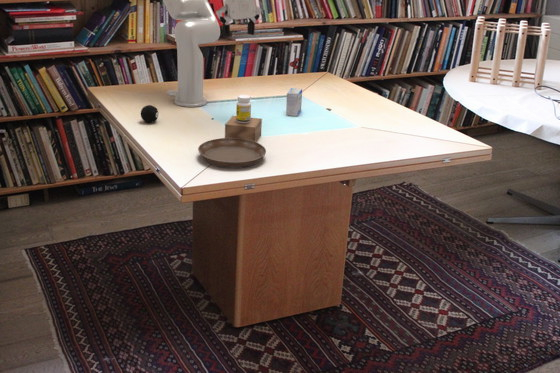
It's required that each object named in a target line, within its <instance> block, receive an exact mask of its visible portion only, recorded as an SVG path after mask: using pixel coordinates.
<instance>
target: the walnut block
mask: <svg viewBox="0 0 560 373" xmlns="http://www.w3.org/2000/svg"><path fill="white" fill-rule="evenodd" d="M262 124H263V118H258V117H251V121H250V122H249V123H239V122H237V121H236V115H232V116H231V117H230V118H229V119H228V120H227V121H226V123H225V124H224V138H238V139H246V140H250V141H254V142H257V143H258V141H259V140H260V138H261V137H262V127H263V126H262Z"/></svg>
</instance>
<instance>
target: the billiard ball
mask: <svg viewBox="0 0 560 373" xmlns="http://www.w3.org/2000/svg"><path fill="white" fill-rule="evenodd" d="M140 117H141V119H142V121H143V122H145V123H147V124H150V123H151V124H152V123H154V122H156V121H157V120H158V119H159V109H158V108H157V107H156V106H154V105H151V104H148V105H144V106H143V107H142V108H141V110H140Z"/></svg>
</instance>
